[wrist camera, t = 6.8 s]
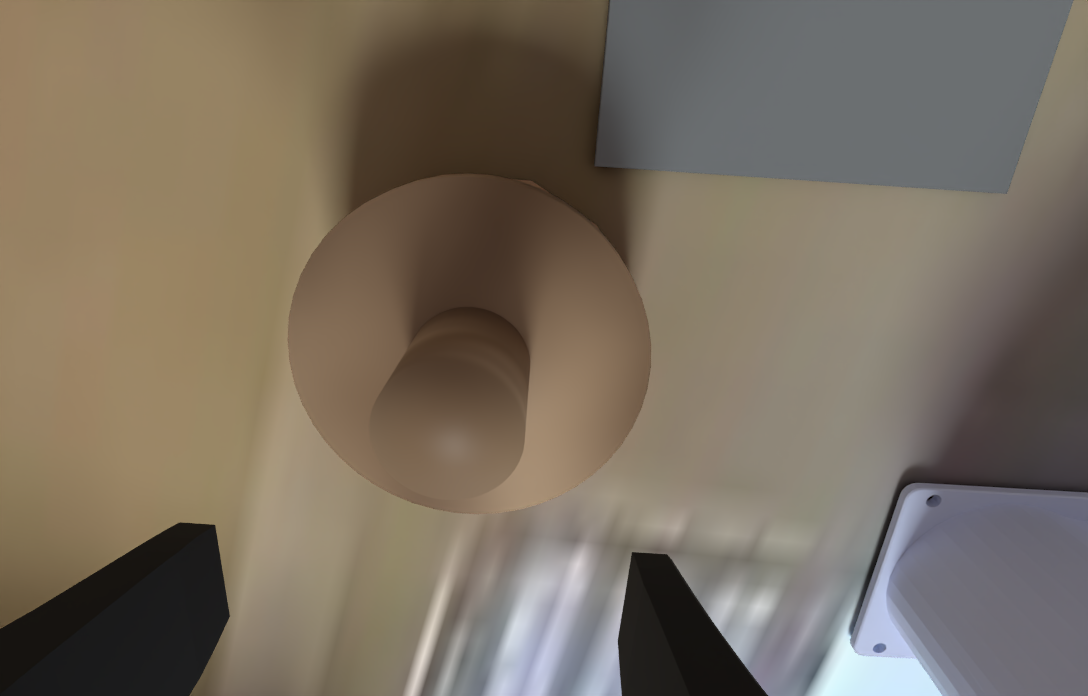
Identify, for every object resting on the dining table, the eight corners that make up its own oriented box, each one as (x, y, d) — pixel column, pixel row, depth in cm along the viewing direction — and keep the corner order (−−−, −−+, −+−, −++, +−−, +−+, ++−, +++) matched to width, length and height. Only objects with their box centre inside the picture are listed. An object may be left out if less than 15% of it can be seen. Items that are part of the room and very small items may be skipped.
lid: (679, 202, 14) (736, 236, 10) (611, 509, 17) (631, 634, 13) (301, 146, 14) (191, 157, 9) (305, 471, 17) (223, 588, 13)
